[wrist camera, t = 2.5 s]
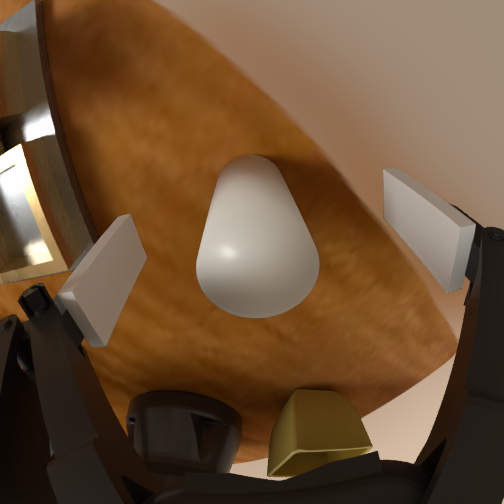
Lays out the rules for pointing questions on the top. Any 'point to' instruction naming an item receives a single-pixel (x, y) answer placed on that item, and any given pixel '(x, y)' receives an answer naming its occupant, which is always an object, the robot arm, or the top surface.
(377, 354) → the top surface
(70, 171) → the red push button box
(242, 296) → the white rounded cylinder
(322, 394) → the flower pot
